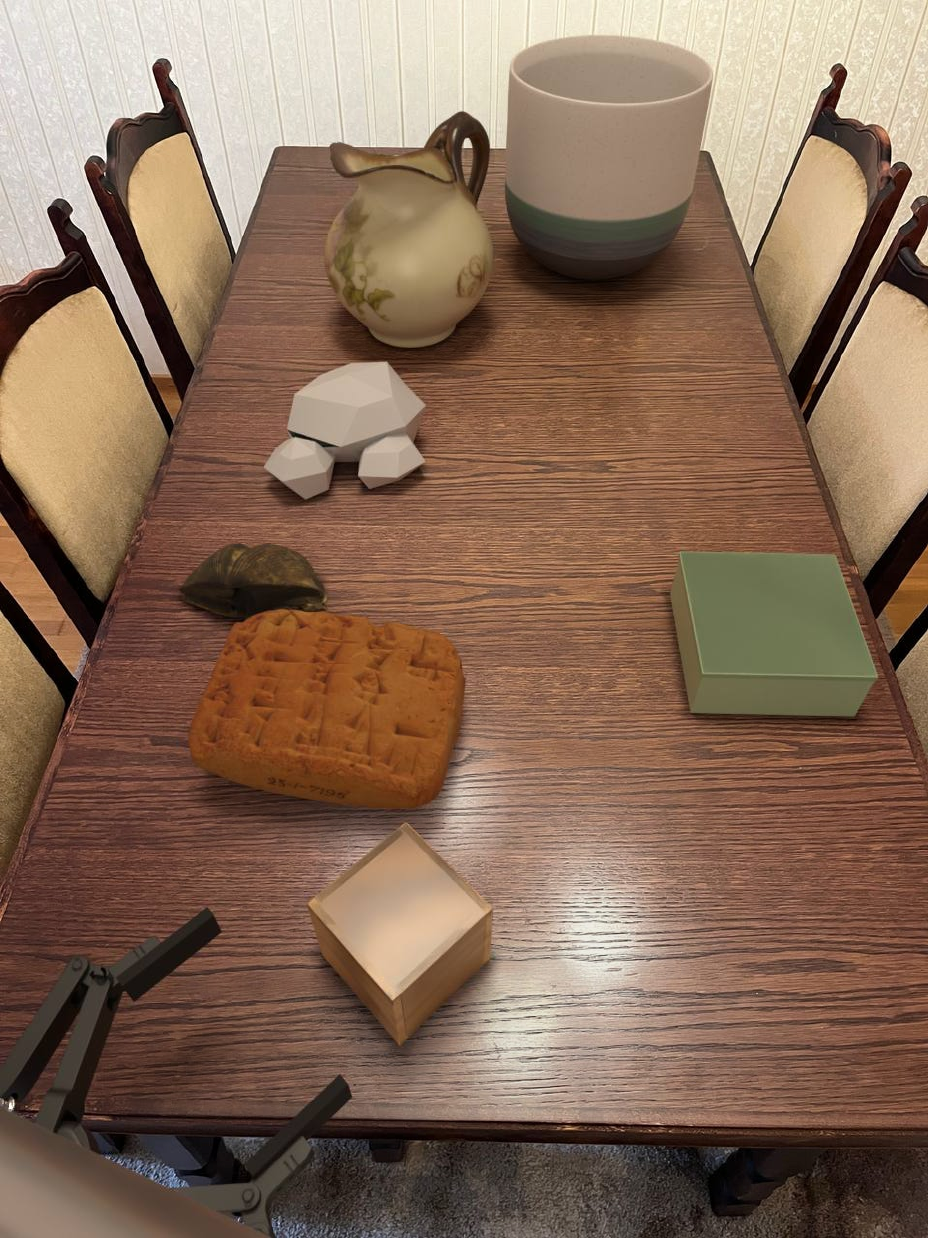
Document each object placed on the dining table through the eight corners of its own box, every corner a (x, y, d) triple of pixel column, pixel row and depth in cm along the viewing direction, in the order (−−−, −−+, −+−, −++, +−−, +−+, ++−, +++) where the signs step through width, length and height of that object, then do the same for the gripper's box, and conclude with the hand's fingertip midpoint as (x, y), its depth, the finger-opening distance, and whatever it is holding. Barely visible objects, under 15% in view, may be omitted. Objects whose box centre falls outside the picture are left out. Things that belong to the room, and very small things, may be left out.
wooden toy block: (490, 958, 68) (493, 908, 61) (399, 1046, 64) (392, 1002, 57) (411, 877, 72) (405, 821, 65) (321, 954, 68) (306, 903, 61)
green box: (856, 717, 83) (878, 677, 78) (689, 714, 83) (702, 673, 78) (817, 596, 93) (835, 554, 88) (668, 593, 93) (679, 551, 88)
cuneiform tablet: (186, 795, 77) (163, 742, 71) (254, 644, 88) (239, 587, 82) (439, 839, 74) (437, 788, 68) (477, 678, 86) (478, 622, 80)
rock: (449, 482, 104) (448, 413, 97) (278, 521, 100) (264, 451, 93) (404, 395, 116) (400, 327, 109) (248, 426, 111) (233, 358, 104)
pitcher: (325, 369, 120) (300, 174, 101) (340, 280, 135) (320, 97, 117) (494, 369, 120) (500, 174, 101) (489, 280, 136) (493, 97, 117)
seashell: (165, 616, 90) (154, 556, 86) (208, 570, 97) (200, 513, 93) (319, 646, 87) (316, 586, 83) (352, 597, 94) (350, 539, 90)
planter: (651, 218, 149) (681, 30, 129) (699, 302, 131) (742, 99, 111) (490, 227, 147) (495, 37, 126) (516, 314, 129) (527, 109, 109)
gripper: (-126, 1114, 54) (180, 885, 64) (75, 1542, 43) (413, 1181, 52) (-193, 1079, 49) (154, 834, 59) (17, 1561, 37) (408, 1153, 47)
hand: (277, 997), depth 55 cm, fingers open, 13 cm apart
